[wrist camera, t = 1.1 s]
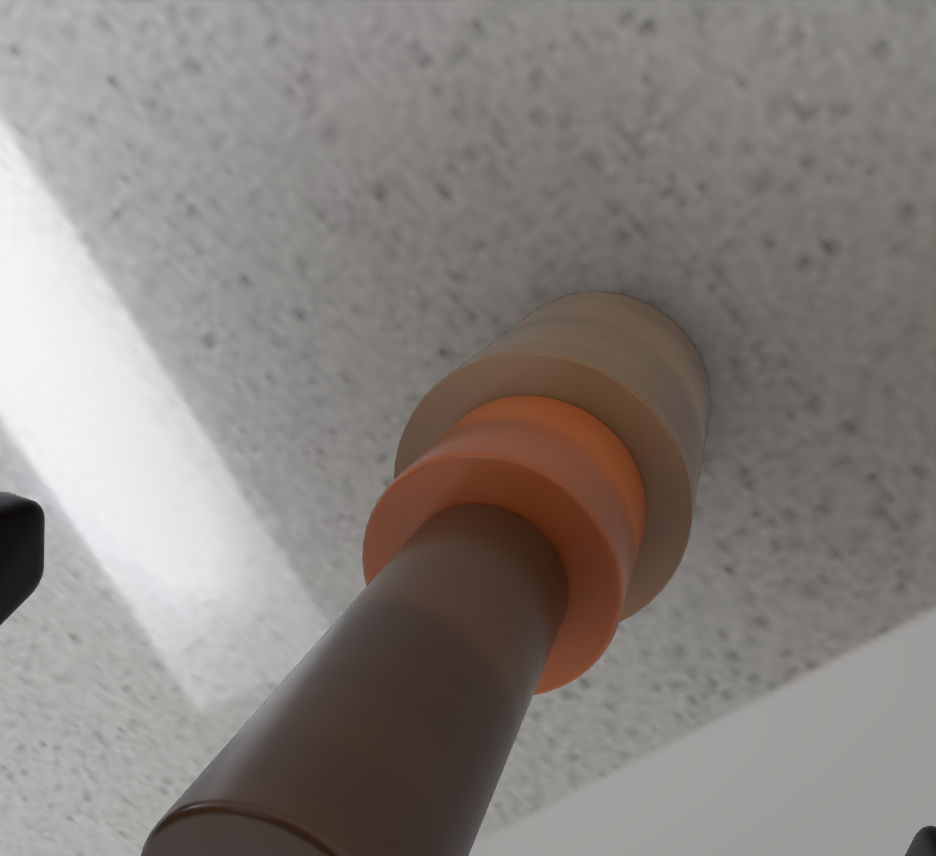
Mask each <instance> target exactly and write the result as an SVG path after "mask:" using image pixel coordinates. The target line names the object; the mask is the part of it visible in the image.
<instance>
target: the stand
mask: <svg viewBox="0 0 936 856" xmlns="http://www.w3.org/2000/svg"><path fill="white" fill-rule="evenodd" d="M523 395H525V396H541V397H547V398H553V399H556V400H560V401H563V402H566V403H569V404H571V405H574V406H576V407H578V408H580V409H582V410H584V411H586V412H587V413H589V414H591V415H592V416H594V417H596V418H597V419H598V420H599V421H601V422H602V423H603V424H605V425H606V426H607V427H608V428H609V429H610V430H611V431H612V432H613V433H614V434H615V435H616V436H617V437H618V438H619V439H620V440H621V442H622V443H623V444H624V446H625V447H626V448H627V450H628V451H629V453H630V455H631V456H632V458H633V460H634V462H635V463H636V466H637V468H638V470H639V473H640V475H641V478H642V482H643V486H644V489H645V495H646V504H647V515H646V525H645V531H644V535H643V539H642V542H641V546H640V549H639V553H638V557H637V560H636V564H635V567H634V571H633V574H632V578H631V581H630V585H629V589H628V592H627V596H626V599H625V603H624V606H623V610H622V613H621V617H620V620H619V622H621V621H623V620H624V619H626V618H628V617H630V616H632V615H633V614H635V613H637V612H638V611H639V610H641V609H642V608H643V607H645V606H646V605H647V604H649V603H650V602H651V601H652V600H653V599H654V598H655V597H656V596H657V595H658V594H659V593H660V592H661V591H662V590H663V588H664V587H665V586H666V584H667V583H668V582H669V580H670V579H671V577H672V576H673V575H674V573H675V571H676V569H677V567H678V565H679V563H680V561H681V559H682V557H683V554H684V551H685V548H686V546H687V543H688V539H689V534H690V528H691V523H692V517H693V511H694V505H695V499H696V492H697V486H698V480H699V474H700V468H701V461H702V455H703V449H704V443H705V437H706V431H707V424H708V418H709V410H710V393H709V384H708V379H707V375H706V371H705V368H704V366H703V363H702V360H701V358H700V356H699V354H698V352H697V350H696V348H695V347H694V345H693V343H692V342H691V341H690V339H689V338H688V337H687V335H686V334H685V333H684V331H683V330H682V329H681V328H680V327H679V326H678V325H677V324H676V323H675V322H674V321H673V320H672V319H670V318H669V317H668V316H666V315H665V314H664V313H663V312H661V311H660V310H658V309H656V308H654V307H653V306H651V305H649V304H647V303H645V302H643V301H640V300H638V299H635V298H633V297H629V296H625V295H622V294H616V293H609V292H585V293H577V294H572V295H569V296H565V297H561V298H559V299H556V300H554V301H552V302H549V303H547V304H546V305H544V306H542V307H540V308H539V309H537V310H535V311H534V312H533V313H531V314H530V315H529V316H527V317H526V318H525V319H523V320H522V321H521V322H519V323H518V324H516V325H515V326H514V327H512V328H511V329H510V330H508V331H507V332H506V333H504V334H503V335H502V336H500V337H499V338H498V339H496V340H495V341H493V342H492V343H491V344H489V345H488V346H487V347H485V348H484V349H483V350H481V351H480V352H479V353H477V354H476V355H475V356H473V357H472V358H470V359H469V360H468V361H466V362H465V363H464V364H462V365H461V366H460V367H458V368H457V369H456V370H454V371H453V372H452V373H450V374H449V375H448V376H446V377H445V378H444V379H442V380H441V381H440V382H439V383H437V384H436V385H435V386H434V387H433V388H432V389H431V390H430V391H429V392H428V393H427V394H426V395H425V396H424V397H423V398H422V400H421V401H420V403H419V404H418V405H417V407H416V408H415V410H414V411H413V413H412V414H411V416H410V418H409V420H408V422H407V424H406V426H405V428H404V430H403V433H402V436H401V439H400V442H399V445H398V450H397V455H396V460H395V471H394V480H395V479H396V478H397V477H398V476H399V475H400V474H401V473H402V472H403V471H404V470H405V469H406V468H407V467H408V466H409V465H411V464H412V463H413V462H414V461H415V460H416V459H417V458H418V457H419V456H420V455H421V454H423V453H424V452H425V451H426V450H427V449H428V448H429V447H430V446H431V445H432V444H433V443H434V442H436V441H437V440H438V439H439V438H440V437H441V436H442V435H443V434H444V433H445V432H446V431H448V430H449V429H450V428H451V427H452V426H453V425H454V424H455V423H456V422H457V421H458V420H459V419H461V418H462V417H463V416H465V415H466V414H467V413H469V412H470V411H472V410H474V409H476V408H477V407H479V406H481V405H483V404H486V403H488V402H491V401H494V400H497V399H501V398H506V397H512V396H523Z"/></svg>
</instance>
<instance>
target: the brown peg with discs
mask: <svg viewBox="0 0 936 856" xmlns="http://www.w3.org/2000/svg"><path fill="white" fill-rule="evenodd" d="M646 515H647V504H646V495H645V489H644V486H643V482H642V478H641V475H640V473H639V470H638V468H637V466H636V463H635V462H634V460H633V458H632V456H631V455H630V453H629V451H628V450H627V448H626V447H625V446H624V444H623V443H622V442H621V440H620V439H619V438H618V437H617V436H616V435H615V434H614V433H613V432H612V431H611V430H610V429H609V428H608V427H607V426H606V425H605V424H603V423H602V422H601V421H599V420H598V419H597V418H596V417H594V416H592V415H591V414H589V413H587V412H586V411H584V410H582V409H580V408H578V407H576V406H574V405H571V404H569V403H566V402H563V401H560V400H556V399H553V398H547V397H541V396H525V395H523V396H512V397H506V398H501V399H497V400H494V401H491V402H488V403H486V404H483V405H481V406H479V407H477V408H476V409H474V410H472V411H470V412H469V413H467V414H466V415H465V416H463V417H462V418H461V419H459V420H458V421H457V422H456V423H455V424H454V425H453V426H452V427H451V428H450V429H449V430H448V431H446V432H445V433H444V434H443V435H442V436H441V437H440V438H439V439H438V440H437V441H436V442H434V443H433V444H432V445H431V446H430V447H429V448H428V449H427V450H426V451H425V452H424V453H423V454H421V455H420V456H419V457H418V458H417V459H416V460H415V461H414V462H413V463H412V464H411V465H409V466H408V467H407V468H406V469H405V470H404V471H403V472H402V473H401V474H400V475H399V476H398V477H397V478H396V479H395V480H394V481H393V482H392V483H391V484H390V485H389V486H388V487H387V488H386V489H385V490H384V492H383V493H382V495H381V496H380V497H379V499H378V500H377V502H376V504H375V506H374V508H373V510H372V512H371V514H370V517H369V520H368V523H367V526H366V530H365V536H364V541H363V570H364V577H365V582H366V588H365V589H364V590H363V591H362V592H361V593H360V595H359V596H358V597H357V598H356V599H355V600H354V601H353V602H352V604H351V605H350V606H349V607H348V608H347V609H346V610H345V612H344V613H343V614H342V615H341V616H340V617H339V618H338V619H337V621H336V622H335V623H334V624H333V625H332V626H331V627H330V628H329V630H328V631H327V632H326V633H325V634H324V635H323V636H322V638H321V639H320V640H319V641H318V642H317V643H316V644H315V645H314V647H313V648H312V649H311V650H310V651H309V652H308V653H307V655H306V656H305V657H304V658H303V659H302V660H301V661H300V662H299V664H298V665H297V666H296V667H295V668H294V669H293V670H292V671H291V673H290V674H289V675H288V676H287V677H286V678H285V679H284V681H283V682H282V683H281V684H280V685H279V686H278V687H277V688H276V690H275V691H274V692H273V693H272V694H271V695H270V696H269V698H268V699H267V700H266V701H265V702H264V703H263V704H262V705H261V707H260V708H259V709H258V710H257V711H256V712H255V713H254V714H253V716H252V717H251V718H250V719H249V720H248V721H247V722H246V724H245V725H244V726H243V727H242V728H241V729H240V730H239V731H238V733H237V734H236V735H235V736H234V737H233V738H232V739H231V741H230V742H229V743H228V744H227V745H226V746H225V747H224V748H223V750H222V751H221V752H220V753H219V754H218V755H217V756H216V757H215V759H214V760H213V761H212V762H211V763H210V764H209V765H208V767H207V768H206V769H205V770H204V771H203V772H202V773H201V774H200V776H199V777H198V778H197V779H196V780H195V781H194V782H193V784H192V785H191V786H190V787H189V788H188V789H187V790H186V791H185V793H184V794H183V795H182V796H181V797H180V798H179V799H178V800H177V802H176V803H175V804H174V805H173V806H172V807H171V808H170V810H169V811H168V812H167V813H166V814H165V815H164V816H163V817H162V819H161V820H160V821H159V822H158V823H157V824H156V826H155V827H154V829H153V830H152V831H151V833H150V834H149V836H148V838H147V840H146V842H145V845H144V847H143V851H142V854H141V856H468V855H469V852H470V850H471V848H472V845H473V843H474V840H475V838H476V835H477V833H478V830H479V828H480V825H481V823H482V820H483V818H484V815H485V813H486V810H487V808H488V805H489V803H490V800H491V798H492V795H493V793H494V790H495V788H496V785H497V783H498V780H499V778H500V775H501V773H502V770H503V768H504V765H505V763H506V760H507V758H508V756H509V753H510V751H511V748H512V746H513V743H514V741H515V738H516V736H517V733H518V731H519V728H520V726H521V723H522V721H523V718H524V716H525V713H526V711H527V708H528V706H529V703H530V701H531V698H532V696H533V695H537V694H541V693H546V692H548V691H551V690H554V689H557V688H560V687H562V686H563V685H565V684H567V683H569V682H571V681H573V680H575V679H576V678H578V677H579V676H580V675H582V674H583V673H585V672H586V671H587V670H589V669H590V668H591V667H592V666H593V665H594V664H595V663H596V662H597V661H598V660H599V658H600V657H601V656H602V654H603V653H604V652H605V650H606V649H607V647H608V646H609V644H610V642H611V640H612V638H613V636H614V634H615V632H616V629H617V626H618V623H619V620H620V617H621V613H622V610H623V606H624V603H625V599H626V596H627V592H628V589H629V585H630V581H631V578H632V574H633V571H634V567H635V564H636V560H637V557H638V553H639V549H640V546H641V542H642V539H643V535H644V531H645V525H646Z"/></svg>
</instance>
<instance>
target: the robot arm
mask: <svg viewBox="0 0 936 856" xmlns="http://www.w3.org/2000/svg"><path fill="white" fill-rule="evenodd" d="M44 529H45V517H44V512H43V510H42V508H41V506H40V505H39V504H38V503H37V502H35V501H32V500H30V499H27V498H24V497H21V496H19V495H16V494H13V493H10V492H0V625H1V624H2V623H3V622H4V621H5V620H6V619H7V618H8V617H9V616H10V615H11V614H12V613H13V612H14V611H15V610H16V609H17V608H18V607H19V606H20V605H21V604H22V603H23V602H24V601H25V600H26V599H27V598H28V597H29V596H30V595H31V594H32V593H33V592H34V590H35V589H36V587H37V586H38V584H39V582H40V580H41V578H42V575H43V571H44ZM905 856H936V827H934V826H927V827H924V828H922V829H921V830H920V831H919V832H918V833H917V834H916V836H915V837H914V839H913V841H912V843H911V845H910V847H909V849H908V851H907V853H906V855H905Z"/></svg>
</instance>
